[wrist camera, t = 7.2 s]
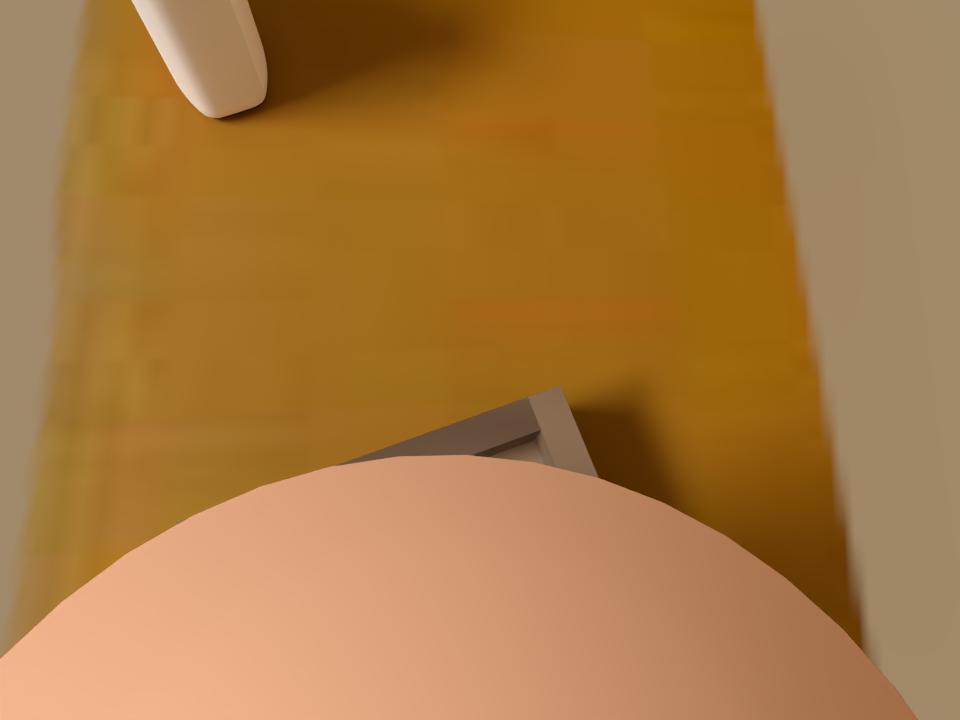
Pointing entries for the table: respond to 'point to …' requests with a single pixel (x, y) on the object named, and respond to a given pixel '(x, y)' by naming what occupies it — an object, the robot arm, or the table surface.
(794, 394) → the table surface
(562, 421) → the square wooden tray
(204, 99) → the eye dropper bottle
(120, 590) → the peach tall rounded piece
